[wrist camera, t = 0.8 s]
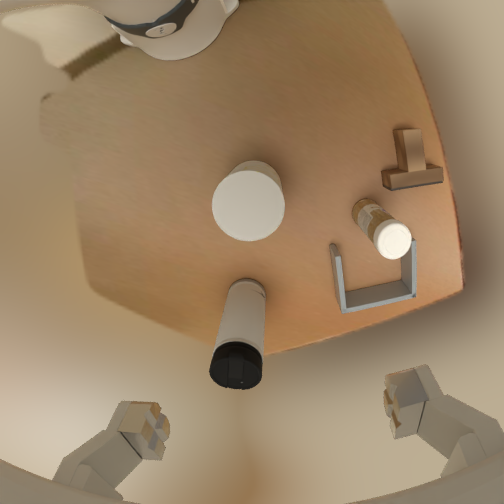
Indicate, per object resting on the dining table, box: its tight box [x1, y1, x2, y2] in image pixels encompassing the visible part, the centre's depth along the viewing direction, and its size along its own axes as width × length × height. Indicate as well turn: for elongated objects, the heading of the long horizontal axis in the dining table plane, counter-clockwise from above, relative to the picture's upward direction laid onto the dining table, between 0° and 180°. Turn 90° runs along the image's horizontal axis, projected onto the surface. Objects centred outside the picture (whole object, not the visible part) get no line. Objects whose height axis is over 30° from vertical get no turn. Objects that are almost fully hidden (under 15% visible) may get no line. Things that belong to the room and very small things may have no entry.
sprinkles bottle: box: [352, 199, 412, 259], centre depth 40 cm, size 5×5×14 cm
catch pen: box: [329, 237, 417, 314], centre depth 47 cm, size 10×13×5 cm
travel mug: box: [209, 279, 266, 390], centre depth 44 cm, size 6×7×20 cm
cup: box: [212, 161, 285, 241], centre depth 41 cm, size 8×8×12 cm
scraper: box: [381, 128, 444, 191], centre depth 41 cm, size 8×9×4 cm
